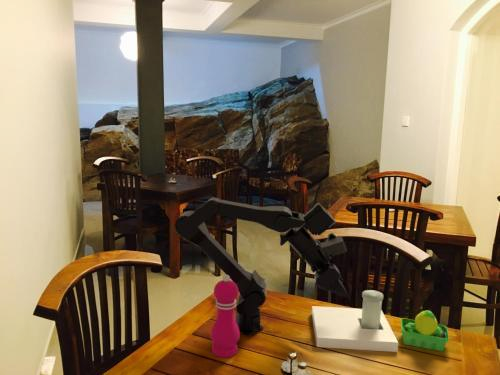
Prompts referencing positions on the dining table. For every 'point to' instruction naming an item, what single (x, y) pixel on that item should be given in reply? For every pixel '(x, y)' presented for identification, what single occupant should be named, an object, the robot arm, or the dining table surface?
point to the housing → (350, 330)
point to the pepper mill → (225, 319)
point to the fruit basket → (424, 332)
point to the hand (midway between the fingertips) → (344, 288)
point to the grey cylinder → (371, 309)
